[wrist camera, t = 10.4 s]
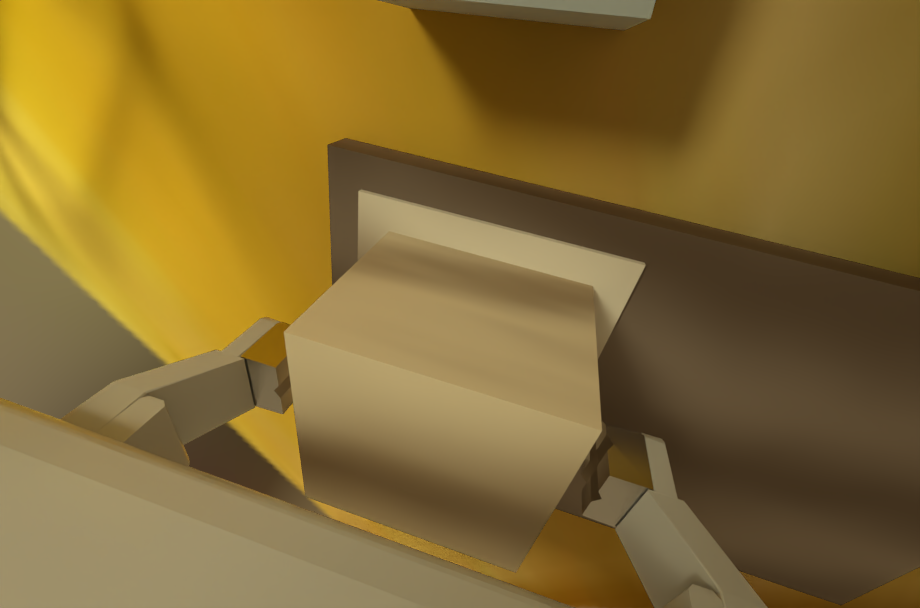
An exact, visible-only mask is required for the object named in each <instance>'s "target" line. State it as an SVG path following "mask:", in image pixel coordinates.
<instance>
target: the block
mask: <svg viewBox="0 0 920 608" xmlns="http://www.w3.org/2000/svg"><path fill="white" fill-rule="evenodd" d="M284 338H285V345H286V353H287V360H288V368H289V375H290V383H291V391H292V398H293V406H294V413H295V421H296V429H297V436H298V444H299V451H300V459H301V466H302V474H303V482H304V489H305V496H306V497H308V498H311V499H314V500H316V501H319V502H322V503H325V504H327V505H330V506H333V507H336V508H338V509H341V510H344V511H347V512H350V513H352V514H355V515H358V516H361V517H363V518H366V519H369V520H372V521H374V522H377V523H380V524H383V525H385V526H388V527H391V528H394V529H396V530H399V531H402V532H405V533H408V534H410V535H413V536H416V537H419V538H421V539H424V540H427V541H430V542H432V543H435V544H438V545H441V546H443V547H446V548H449V549H452V550H455V551H457V552H460V553H463V554H466V555H468V556H471V557H474V558H477V559H479V560H482V561H485V562H488V563H490V564H493V565H496V566H499V567H502V568H504V569H507V570H510V571H513V572H515V573H516V572H517V570H518V568H519V567H520V565H521V563H522V562H523V560H524V558H525V557H526V555H527V554H528V552H529V550H530V549H531V547H532V545H533V544H534V542H535V540H536V539H537V537H538V535H539V534H540V532H541V530H542V529H543V527H544V526H545V524H546V522H547V521H548V519H549V517H550V516H551V514H552V512H553V511H554V509H555V507H556V506H557V504H558V502H559V501H560V499H561V498H562V496H563V494H564V493H565V491H566V489H567V488H568V486H569V484H570V483H571V481H572V479H573V478H574V476H575V475H576V473H577V471H578V470H579V468H580V466H581V465H582V463H583V461H584V460H585V458H586V456H587V455H588V453H589V451H590V450H591V448H592V447H593V445H594V443H595V442H596V440H597V438H598V437H599V435H600V433H601V432H602V422H601V406H600V391H599V375H598V359H597V343H596V328H595V312H594V296H593V286H591V285H587V284H583V283H579V282H576V281H572V280H568V279H565V278H561V277H557V276H554V275H550V274H546V273H542V272H539V271H535V270H531V269H528V268H524V267H520V266H516V265H513V264H509V263H505V262H502V261H498V260H494V259H490V258H487V257H483V256H479V255H476V254H472V253H468V252H464V251H461V250H457V249H453V248H450V247H446V246H442V245H439V244H435V243H431V242H427V241H424V240H420V239H416V238H413V237H409V236H405V235H401V234H398V233H394V232H390V231H389V232H388V233H387V234H386V235H385V236H384V237H383V238H381V239H380V240H379V241H378V242H377V243H376V244H375V245H374V246H373V247H372V248H371V249H370V250H369V251H368V252H367V253H366V254H365V255H364V256H363V257H362V258H360V259H359V260H358V261H357V262H356V263H355V264H354V265H353V266H352V267H351V268H350V269H349V270H348V271H347V272H346V273H345V274H344V275H343V276H342V277H341V278H340V279H338V280H337V281H336V282H335V283H334V284H333V285H332V286H331V287H330V288H329V289H328V290H327V291H326V292H325V293H324V294H323V295H322V296H321V297H320V298H319V299H318V300H316V301H315V302H314V303H313V304H312V305H311V306H310V307H309V308H308V309H307V310H306V311H305V312H304V313H303V314H302V315H301V316H300V317H299V318H298V319H297V320H295V321H294V322H293V323H292V324H291V325H290V326H289V327H288V328H287V329H286V330H285V331H284Z"/></svg>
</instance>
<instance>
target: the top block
mask: <svg viewBox="0 0 920 608" xmlns="http://www.w3.org/2000/svg"><path fill="white" fill-rule="evenodd" d="M379 1H383V2H387V3H391V4H395V5H399V6H403V7H407V8H412V9H422V10H431V11H441V12H451V13H460V14H470V15H480V16H489V17H499V18H509V19H518V20H528V21H538V22H547V23H557V24H567V25H576V26H586V27H596V28H605V29H615V30H626V29H629V28H631V27H633V26H635V25H638V24H640V23H642V22H644V21H647V20H649V19H650V18H651V15H652V12H653V8H654V5H655V2H656V0H379Z"/></svg>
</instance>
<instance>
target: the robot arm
mask: <svg viewBox="0 0 920 608" xmlns="http://www.w3.org/2000/svg"><path fill="white" fill-rule="evenodd" d="M289 326H290V324H287V323H284V322H280V321H277V320H274V319H271V318H268V317H264V318H261V319H259V320H258V321H257V322H256V323H254V324H253V325H252V326H251V327H250V328H249V329H247V330H246V331H245V332H244V333H243V334H241V335H240V336H239V337H238V338H237V339H235V340H234V341H233V342H232V343H231V344H229V345H228V346H227V347H226V348H225V349H223V350H222V351H219V350H214V351H211V352H207V353H204V354H201V355H198V356H194V357H191V358H188V359H185V360H181V361H178V362H175V363H172V364H168V365H165V366H162V367H159V368H155V369H152V370H149V371H146V372H142V373H139V374H136V375H133V376H130V377H127V378H123V379H120V380H117V381H113V382H112V383H111V384H109V385H108V386H106V387H105V388H104V389H102V390H101V391H99V392H98V393H97V394H95V395H94V396H92V397H91V398H90V399H88V400H87V401H85V402H84V403H83V404H81V405H80V406H78V407H77V408H75V409H74V410H73V411H71V412H70V413H68V414H67V415H66V416H64V417H63V418H61V419H57V418H54V417H51V416H49V415H46V414H43V413H41V412H38V411H35V410H33V409H30V408H27V407H24V406H22V405H19V404H16V403H13V402H11V401H8V400H5V399H3V398H0V608H574V607H571V606H569V605H566V604H563V603H560V602H558V601H555V600H552V599H550V598H547V597H544V596H541V595H539V594H536V593H533V592H530V591H528V590H525V589H522V588H520V587H517V586H514V585H511V584H509V583H506V582H503V581H500V580H498V579H495V578H492V577H490V576H487V575H484V574H481V573H479V572H476V571H473V570H470V569H468V568H465V567H462V566H460V565H457V564H454V563H451V562H449V561H446V560H443V559H440V558H438V557H435V556H432V555H430V554H427V553H424V552H421V551H419V550H416V549H413V548H410V547H408V546H405V545H402V544H399V543H397V542H394V541H391V540H389V539H386V538H383V537H380V536H378V535H375V534H372V533H369V532H367V531H364V530H361V529H358V528H356V527H353V526H350V525H347V524H345V523H342V522H339V521H336V520H334V519H331V518H328V517H326V516H323V515H320V514H317V513H314V512H312V511H309V510H306V509H303V508H301V507H298V506H295V505H293V504H290V503H287V502H284V501H282V500H279V499H276V498H274V497H271V496H268V495H265V494H263V493H260V492H257V491H254V490H252V489H249V488H246V487H243V486H241V485H238V484H235V483H232V482H230V481H227V480H224V479H221V478H219V477H216V476H213V475H211V474H208V473H205V472H202V471H199V470H197V469H194V468H191V467H189V466H188V465H189V457H188V455H187V453H186V450H185V448H184V446H183V445H184V444H186V443H188V442H190V441H192V440H194V439H196V438H198V437H200V436H202V435H203V434H205V433H207V432H209V431H211V430H213V429H214V428H217V427H219V426H220V425H222V424H224V423H226V422H228V421H230V420H232V419H234V418H236V417H238V416H239V415H241V414H243V413H245V412H247V411H249V410H251V409H253V408H254V407H255V406H257V407H261V408H264V409H267V410H271V411H274V412H277V413H280V414H284V413H285V411H286V410H287V409H288V408H289V406H290V405H291V404H292V403H293V398H292V391H291V383H290V375H289V368H288V360H287V353H286V345H285V338H284V331H285V330H286V329H287V328H288V327H289ZM581 475H582V476H583V478H584V480H585V481H586V484H585V486H584V487H583V489H582V515H583V516H585V517H588V518H591V519H594V520H596V521H599V522H602V523H604V524H607V525H610V526H613V527H615V530H616V532H617V534H618V536H619V538H620V540H621V542H622V544H623V546H624V548H625V550H626V552H627V554H628V556H629V558H630V560H631V562H632V564H633V566H634V568H635V570H636V572H637V574H638V576H639V578H640V580H641V582H642V584H643V586H644V588H645V590H646V592H647V594H648V596H649V598H650V600H651V602H652V604H653V606H654V608H767V606H766V605H765V604H764V602H763V601H762V600H761V599H760V597H759V596H758V595H757V593H756V592H755V591H754V590H753V588H752V587H751V586H750V585H749V583H748V582H747V581H746V579H745V578H744V577H743V576H742V574H741V573H740V572H739V570H738V569H737V568H736V567H735V565H734V564H733V563H732V562H731V560H730V559H729V558H728V556H727V555H726V554H725V553H724V551H723V550H722V549H721V547H720V546H719V545H718V544H717V542H716V541H715V540H714V539H713V537H712V536H711V535H710V533H709V532H708V531H707V530H706V528H705V527H704V526H703V524H702V523H701V522H700V521H699V519H698V518H697V517H696V516H695V514H694V513H693V512H692V510H691V509H690V508H689V507H688V505H687V504H686V503H685V502H684V501H683V500H680V499H678V497H677V493H676V489H675V484H674V480H673V476H672V471H671V467H670V463H669V458H668V454H667V450H666V445H665V442H664V441H663V440H662V439H661V438H658V437H654V436H651V435H647V434H644V433H640V432H638V431H634V430H631V429H628V428H624V427H621V426H617V425H614V424H611V423H607V422H604V421H602V432H601V433H600V435H599V437H598V438H597V440H596V442H595V443H594V445H593V447H592V448H591V450H590V451H589V453H588V455H587V456H586V458H585V460H584V461H583V463H582V465H581Z"/></svg>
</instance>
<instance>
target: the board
mask: <svg viewBox="0 0 920 608" xmlns="http://www.w3.org/2000/svg"><path fill="white" fill-rule="evenodd" d="M328 172H329V202H330V231H331V261H332V285H333V284H334V283H335V282H336V281H337V280H338V279H340V278H341V277H342V276H343V275H344V274H345V273H346V272H347V271H348V270H349V269H350V268H351V267H352V266H353V265H354V264H355V263H356V262H357V261H358V260H359V259H360V258H362V257H363V256H364V255H365V254H366V253H367V252H368V251H369V250H370V249H371V248H372V247H373V246H374V245H375V244H376V243H377V242H378V241H379V240H380V239H381V238H383V237H384V236H385V235H386V234H387V233H388V232H389V231H390V232H394V233H398V234H401V235H405V236H409V237H413V238H416V239H420V240H424V241H427V242H431V243H435V244H439V245H442V246H446V247H450V248H453V249H457V250H461V251H464V252H468V253H472V254H476V255H479V256H483V257H487V258H490V259H494V260H498V261H502V262H505V263H509V264H513V265H516V266H520V267H524V268H528V269H531V270H535V271H539V272H542V273H546V274H550V275H554V276H557V277H561V278H565V279H568V280H572V281H576V282H579V283H583V284H587V285H591V286H593V296H594V312H595V328H596V343H597V359H598V375H599V391H600V406H601V422H602V421H604V422H607V423H611V424H614V425H617V426H621V427H624V428H628V429H631V430H634V431H638V432H640V433H644V434H647V435H651V436H654V437H658V438H661V439H662V440H663V441H664V442H665V445H666V450H667V454H668V458H669V463H670V467H671V471H672V476H673V480H674V484H675V489H676V493H677V497H678V499H680V500H683V501H684V502H685V503H686V504H687V505H688V507H689V508H690V509H691V510H692V512H693V513H694V514H695V516H696V517H697V518H698V519H699V521H700V522H701V523H702V524H703V526H704V527H705V528H706V530H707V531H708V532H709V533H710V535H711V536H712V537H713V539H714V540H715V541H716V542H717V544H718V545H719V546H720V547H721V549H722V550H723V551H724V553H725V554H726V555H727V556H728V558H729V559H730V560H731V562H732V563H733V564H734V565H735V567H736V568H737V569H738V570H739V571H741V572H744V573H747V574H750V575H753V576H756V577H759V578H762V579H765V580H768V581H771V582H774V583H777V584H780V585H783V586H786V587H788V588H791V589H794V590H797V591H800V592H803V593H806V594H809V595H812V596H815V597H818V598H821V599H824V600H827V601H830V602H833V603H836V604H839V605H843V604H845V603H847V602H849V601H851V600H853V599H855V598H857V597H859V596H861V595H863V594H865V593H867V592H869V591H871V590H873V589H876V588H878V587H880V586H882V585H884V584H886V583H888V582H890V581H892V580H894V579H896V578H898V577H900V576H902V575H904V574H906V573H908V572H910V571H912V570H915V569H917V568H919V567H920V278H917V277H913V276H909V275H905V274H901V273H896V272H892V271H888V270H884V269H880V268H876V267H872V266H868V265H864V264H860V263H855V262H851V261H847V260H843V259H839V258H835V257H831V256H827V255H823V254H819V253H814V252H810V251H806V250H802V249H798V248H794V247H790V246H786V245H782V244H778V243H773V242H769V241H765V240H761V239H757V238H753V237H749V236H745V235H741V234H736V233H732V232H728V231H724V230H720V229H716V228H712V227H708V226H704V225H700V224H695V223H691V222H687V221H683V220H679V219H675V218H671V217H667V216H663V215H659V214H654V213H650V212H646V211H642V210H638V209H634V208H630V207H626V206H622V205H618V204H613V203H609V202H605V201H601V200H597V199H593V198H589V197H585V196H581V195H577V194H572V193H568V192H564V191H560V190H556V189H552V188H548V187H544V186H540V185H535V184H531V183H527V182H523V181H519V180H515V179H511V178H507V177H503V176H499V175H494V174H490V173H486V172H482V171H478V170H474V169H470V168H466V167H462V166H458V165H453V164H449V163H445V162H441V161H437V160H433V159H429V158H425V157H421V156H417V155H412V154H408V153H404V152H400V151H396V150H392V149H388V148H384V147H380V146H375V145H371V144H367V143H363V142H359V141H355V140H351V139H347V138H345V139H342V140H339V141H337V142H334V143H331V144H329V145H328ZM585 484H586V481H585V480H584V478H583V476H582V475H581V466H580V468H579V470H578V471H577V473H576V475H575V476H574V478H573V479H572V481H571V483H570V484H569V486H568V488H567V489H566V491H565V493H564V494H563V496H562V498H561V499H560V501H559V502H558V504H557V506H556V507H555V509H558V510H561V511H564V512H567V513H570V514H573V515H576V516H579V517H582V518H585V519H588V520H591V521H594V522H596V523H599V524H602V525H605V526H608V527H611V528H614V529H615V527H613V526H610V525H607V524H604V523H602V522H599V521H596V520H594V519H591V518H588V517H585V516H583V515H582V489H583V487H584V486H585Z"/></svg>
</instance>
